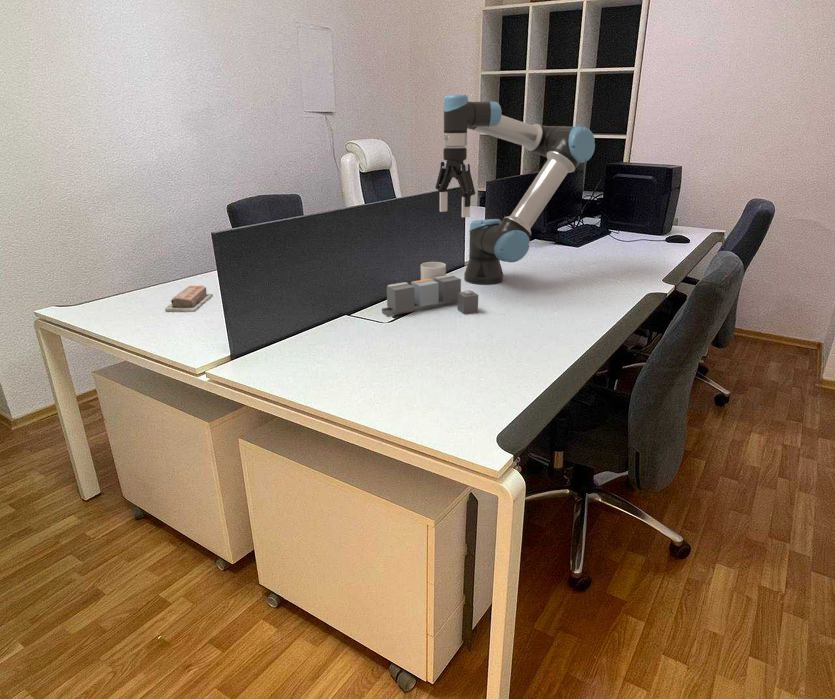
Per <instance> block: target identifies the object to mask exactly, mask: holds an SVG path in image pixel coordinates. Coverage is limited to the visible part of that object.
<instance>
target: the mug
mask: <svg viewBox="0 0 835 699" xmlns="http://www.w3.org/2000/svg"><path fill="white" fill-rule="evenodd" d="M446 275H447V264H446V263H444V262H440V261H428V262H427V261H426V262H423V263H421V264H420V280H425V279H432V280H433V281H434V278H435V277H440V276H446Z"/></svg>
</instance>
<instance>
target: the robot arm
mask: <svg viewBox="0 0 835 699" xmlns="http://www.w3.org/2000/svg"><path fill="white" fill-rule="evenodd" d="M443 100H444V102H443V146H444V148H443V160H445V161H441V162H440V168H439V172H438V176H437V180H436V183H435V190H438V193H439V212H440V213H443V212H448V193H449V192H448V187H449V185H450V183H451V181H452V179H453V178H454V179H455V180H457V183H458V185H459V188H460V190H461V193H462V195H461V218H469V217H470V215H471V213H470V212H471V197H472V196H474V195H476V190H475V186H474V181H473V177H472V172H471V164H470V163H464V161H465V160H467V159H468V158H467V156H468V155H467V154H468V152H467V151H468V149H467V146H468V130H471V131H475V132H479V133H481V134H485V135H488V136H492V137H493V138H497V139H501V140H503V141H506V142H510V143H513V144H516V145H519V146H523V147H525V148H524V149H526V150H527V151H529V152H533V153H534V154H537V155H540V156H542V157H545V158H546V159H547V160H546V161H545V163H544V165H542V168H541V169H540V171H539V172H538V174H537V175H536V176H535V178H534V180H533V181H532V183H531V184H530V185H529V187H528V189H527V190H526V192H525V193H524V195H523V196H522V198H521V199H520V200H519V202H518V204H517V205H516V207H515V208H514V209H513V211H512V213H511V214H510V215H509V216H504V217H503V219H502V220H501V219H499V218H492V219H491V218H489V219H487V218H486V219H478V220H473V221H471V222H470V224H469V246H468V247H469V250H468V251H469V254H468V256H469V257H468V258H469V259H468V262H467V265H466V268H465V271H464V276H463V279H464V281H465V282H468V283H471V284H476V285H494V284H498V283H501V282H503V280H504V273H503V269H502V265H501V262H503V263H504V262H507V263H517V262H519V261H521V260H522V259H523V258H524V257H525V256H526V255H527V253H528V252H529V249H530V243H531V242H530V241H531V240H530V238H531V236H532V231H531V228H532V227H533V225H534V224H535V222H536V221H537V220H538V218H539V216H541V213H542V212H543V211H544V209H545V207H546V206H547V205H548V203H549V202H550V200H551V199H552V197H553V195H554V194H555V193H556V191H557V190H558V188H559V187H560V185H561V184H562V182H563V181H564V179H565V177H566V176H567V175H568V173H569V174H570V173H574V172H575V170H576V169H577V167H578V166H579V165H580V163H581V164H582V163H585V162H588V161H589V160H590V159H591V158H592V156H593V155H594V153H595V147H596V143H595V141H596V140H595V135H594V133H593V132H592V131H591V130H590V129H589V128H588V127H585V126H580V125H575V126H567V125H557V126H556V125H555V126H554V125H550V126H548V125H542V124H539V123H534V124H530V123H526V122H524V121H521V120H518V119H514V118H512V117H509V116H506V115H503V114H502V107H501V105H500V103H499V102H498V101H491V100H490V101H469V97H468V95H467V94H446V95H445V97H444V99H443Z"/></svg>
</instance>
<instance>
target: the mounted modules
mask: <svg viewBox="0 0 835 699" xmlns="http://www.w3.org/2000/svg"><path fill="white" fill-rule="evenodd" d="M434 281H436V282H438V283H439V300H440V301H442V302H447V301H452V300H458V292H462V278H460V277H457V276H455V274H454V275H453V274H446V276H440V277H435V278H434ZM386 305H387V306H386V307H389V308H391V309H393V310H394V311H400V310H405V309H410V308H415V295H414V287H413V286H411V284H409V283H408V282H406V281H405V282H397V283H391V284H387V285H386Z"/></svg>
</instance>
